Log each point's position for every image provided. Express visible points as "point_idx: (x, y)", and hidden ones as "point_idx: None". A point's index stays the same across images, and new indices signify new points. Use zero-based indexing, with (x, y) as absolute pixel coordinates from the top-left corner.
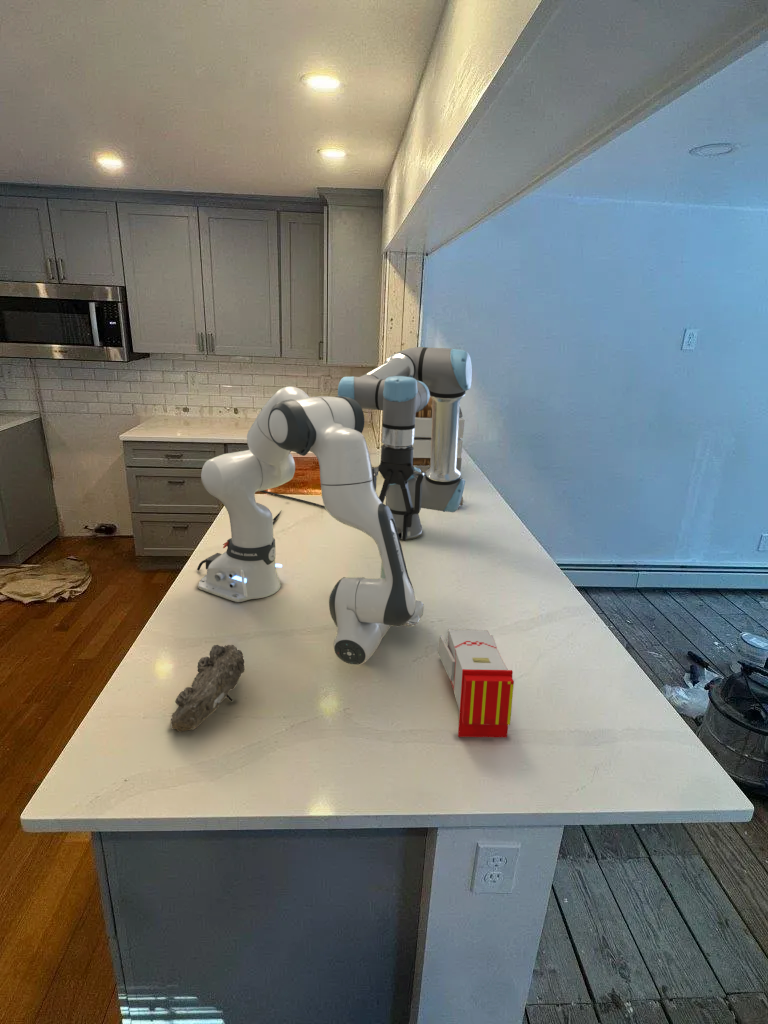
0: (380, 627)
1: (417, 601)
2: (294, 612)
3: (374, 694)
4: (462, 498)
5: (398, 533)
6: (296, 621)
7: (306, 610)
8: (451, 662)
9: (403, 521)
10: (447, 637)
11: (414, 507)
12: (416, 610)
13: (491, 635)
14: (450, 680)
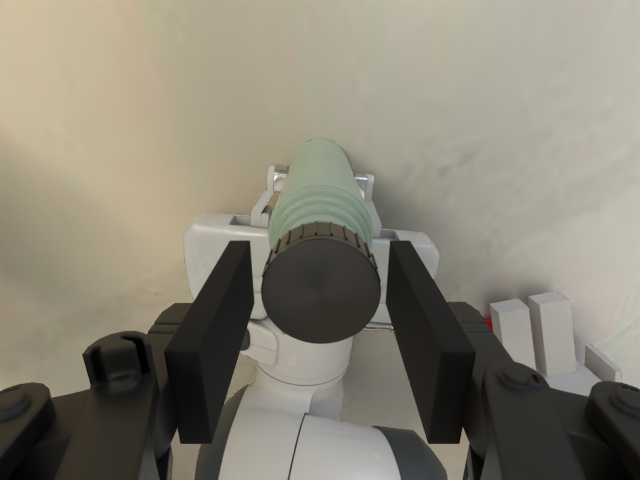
0: (339, 395)
1: (421, 255)
2: (77, 226)
3: None
4: None
5: (363, 324)
6: (106, 263)
7: (99, 208)
8: None
9: (414, 395)
10: (491, 306)
11: (584, 443)
12: None
13: (617, 372)
14: None
